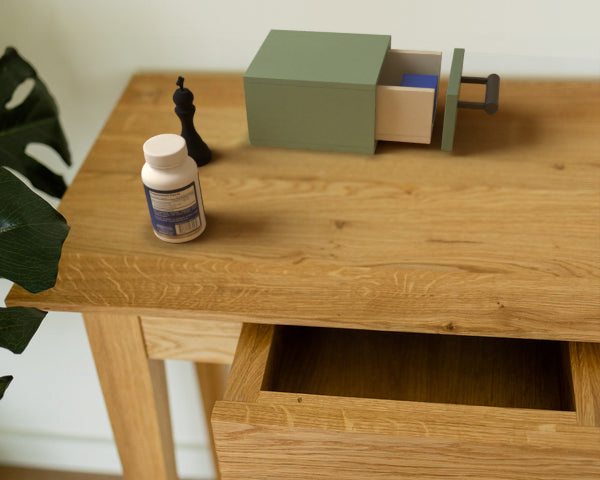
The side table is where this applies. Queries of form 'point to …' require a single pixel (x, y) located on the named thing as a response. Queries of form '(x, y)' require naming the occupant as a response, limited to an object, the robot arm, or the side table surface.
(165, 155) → the pill bottle
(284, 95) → the green drawer cabinet
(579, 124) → the side table surface
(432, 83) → the blue rectangular box
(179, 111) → the chess piece
